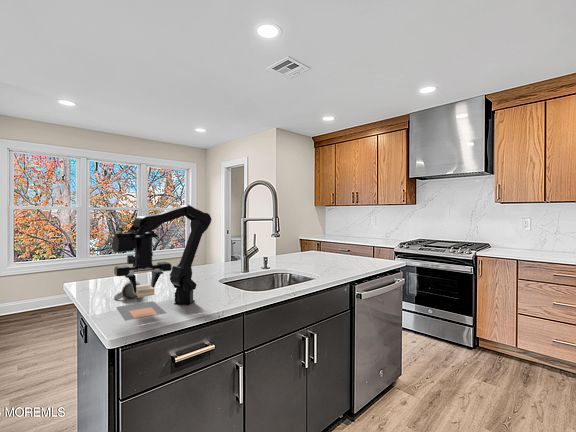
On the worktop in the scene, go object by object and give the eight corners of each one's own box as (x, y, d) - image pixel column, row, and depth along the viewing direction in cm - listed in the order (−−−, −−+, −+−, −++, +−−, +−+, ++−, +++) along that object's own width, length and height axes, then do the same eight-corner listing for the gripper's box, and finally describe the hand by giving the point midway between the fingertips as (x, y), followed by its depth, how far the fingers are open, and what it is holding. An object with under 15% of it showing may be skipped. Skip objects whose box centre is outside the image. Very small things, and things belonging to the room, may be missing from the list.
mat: (153, 302, 131) (153, 300, 131) (166, 313, 117) (166, 312, 117) (115, 307, 123) (115, 306, 123) (125, 321, 109) (125, 320, 109)
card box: (154, 295, 115) (154, 288, 115) (138, 297, 112) (138, 290, 112) (148, 290, 122) (148, 283, 122) (133, 292, 119) (133, 285, 119)
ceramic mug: (141, 294, 142) (141, 277, 142) (141, 299, 135) (141, 281, 135) (114, 297, 138) (114, 280, 137) (113, 302, 130) (113, 284, 130)
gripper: (163, 246, 129) (163, 283, 129) (111, 249, 117) (111, 290, 118) (172, 249, 120) (171, 289, 120) (117, 252, 108) (117, 297, 109)
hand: (143, 291), depth 117 cm, fingers closed on card box, 5 cm apart
